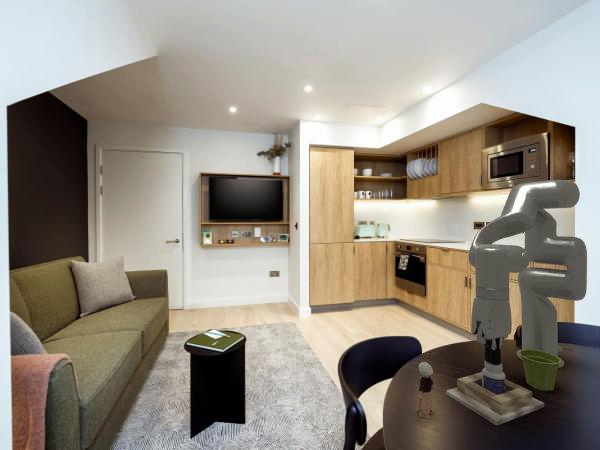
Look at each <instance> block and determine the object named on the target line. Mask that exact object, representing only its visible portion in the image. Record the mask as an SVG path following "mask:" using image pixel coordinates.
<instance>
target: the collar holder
mask: <svg viewBox="0 0 600 450" xmlns="http://www.w3.org/2000/svg"><path fill="white" fill-rule="evenodd" d="M445 394H446V395H447V396H448V397H450V398H451V399H453V400H454V401H456V402H458V403H460V404H461V405H463V406H465V407H466V408H468V409H469V410H471V411H472V412H474V413H475V414H477V415H478V416H480V417H483V419H485V420H487V421H488V422H490V423H491V424H493V425H495V426H499V425H502V424H504V423H507V422H509V421H512V420H514V419H517V418H520V417H523V416H525V415H527V414H529V413H533V412H535V411H538V410H541V409H542V408H545V402H543V401H541V400H539V399H536V398H535V397H533V391H532V390H529V389H527V388H525V387H523V386H521V385H518V384H517V383H514V382H513V381H510V380H508V379H506V392H505V393H502V394H499V395H496V394H494V393H492V392H491V391H489V390H487V389H485V388H483V387H482V371H480V372H477V373H474V374H470V375H467V376H463V377H460V378H457V379H456V387H453V388H449V389H447V390H445Z"/></svg>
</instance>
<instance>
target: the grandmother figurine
mask: <svg viewBox="0 0 600 450" xmlns="http://www.w3.org/2000/svg"><path fill="white" fill-rule="evenodd" d="M418 372H419V375H420V376H421V378H420V380H419V387H418V395H417V406H416V408H417V411H419V412H418V416H419V417H420V418H422V419H425V420H430V419H431V418H432V417H431V415H432V416H433V415H435V412H434V411H433V409H434V406H433V398H432V390H435V388H436V387H435V384H434V381H433V379H432V377H431V376H432V375H433V374H434V369H433V368H432V366H431V365H430V364H429V363H428V362H427V361H422V362H420V363H419V364H418Z"/></svg>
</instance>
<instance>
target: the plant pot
mask: <svg viewBox="0 0 600 450" xmlns="http://www.w3.org/2000/svg"><path fill="white" fill-rule="evenodd" d="M519 350H520V351H519V354H520V356H521V358H522V360H521V361H522V364H523V369H524V375H525V381H526V383H527V385H529V386H530V387H532V388H533V389H535V390H539V391H542V392H547V391H550V392H552V391H554V389H555V383H556V379H557V372H558V369H559V368H558V367H559V364H560V363H561V359H562V358H561V359H560V357H559V356H558V357H557V356H555V355H553V354H550V353H547V352H544V351H539V350H532V349H524V350H522V349H519Z"/></svg>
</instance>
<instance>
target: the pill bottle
mask: <svg viewBox="0 0 600 450" xmlns="http://www.w3.org/2000/svg"><path fill="white" fill-rule="evenodd" d="M481 372H482V387H483V388H485V389H487V390H489V391H491V392H492V393H494V394H496V395H499V394H502V393H505V392H506V380H507V377H506V373H505V372H503V364H502V362H501V364H499V365H494V364H491V363H489V362H487V361H486V360H485V359H484V368H482V369H481Z"/></svg>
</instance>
